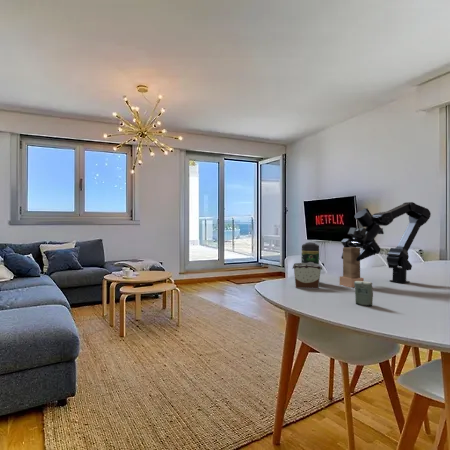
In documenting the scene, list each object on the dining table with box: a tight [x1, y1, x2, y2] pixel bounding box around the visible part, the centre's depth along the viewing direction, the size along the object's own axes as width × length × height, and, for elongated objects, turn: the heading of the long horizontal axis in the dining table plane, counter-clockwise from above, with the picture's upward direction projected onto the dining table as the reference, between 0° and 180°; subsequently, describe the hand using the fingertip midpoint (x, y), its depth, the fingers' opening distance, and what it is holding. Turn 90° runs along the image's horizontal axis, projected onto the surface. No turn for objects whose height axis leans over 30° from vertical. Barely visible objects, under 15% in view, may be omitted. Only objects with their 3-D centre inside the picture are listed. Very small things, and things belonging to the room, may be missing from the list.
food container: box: [291, 262, 323, 290], centre depth 142 cm, size 12×6×10 cm, turn 84°
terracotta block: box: [339, 275, 365, 289], centre depth 146 cm, size 7×7×4 cm
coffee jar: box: [300, 241, 320, 264], centre depth 152 cm, size 10×8×19 cm
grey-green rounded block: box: [354, 281, 374, 307], centre depth 111 cm, size 6×5×8 cm
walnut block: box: [342, 246, 361, 278], centre depth 146 cm, size 5×5×13 cm
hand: (349, 259), depth 146 cm, fingers open, 9 cm apart
